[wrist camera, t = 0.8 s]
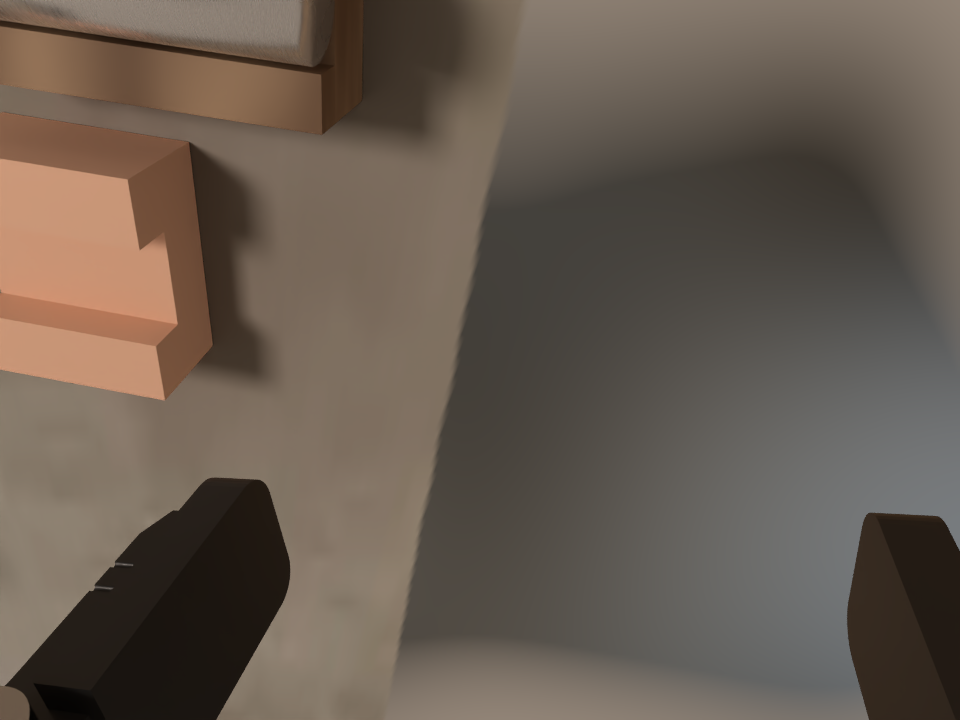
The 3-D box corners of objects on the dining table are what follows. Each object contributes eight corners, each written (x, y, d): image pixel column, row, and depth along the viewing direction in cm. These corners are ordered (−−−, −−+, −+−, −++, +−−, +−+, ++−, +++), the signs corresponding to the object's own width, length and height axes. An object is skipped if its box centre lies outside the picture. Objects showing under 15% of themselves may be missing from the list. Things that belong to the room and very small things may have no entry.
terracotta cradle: (54, 316, 40) (-11, 367, 36) (2, 112, 34) (-84, 144, 30) (212, 345, 39) (165, 400, 35) (188, 141, 33) (127, 179, 29)
